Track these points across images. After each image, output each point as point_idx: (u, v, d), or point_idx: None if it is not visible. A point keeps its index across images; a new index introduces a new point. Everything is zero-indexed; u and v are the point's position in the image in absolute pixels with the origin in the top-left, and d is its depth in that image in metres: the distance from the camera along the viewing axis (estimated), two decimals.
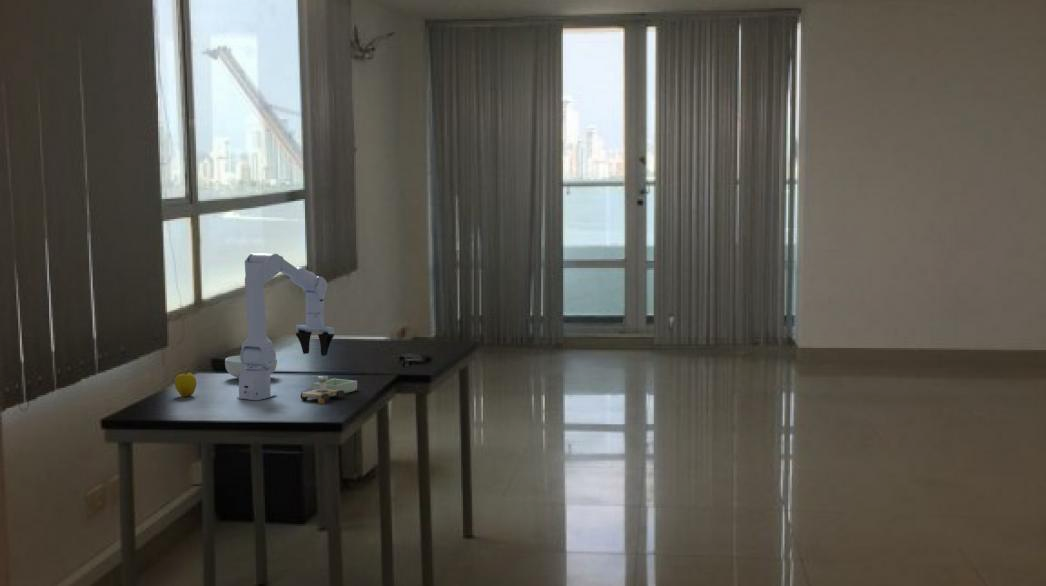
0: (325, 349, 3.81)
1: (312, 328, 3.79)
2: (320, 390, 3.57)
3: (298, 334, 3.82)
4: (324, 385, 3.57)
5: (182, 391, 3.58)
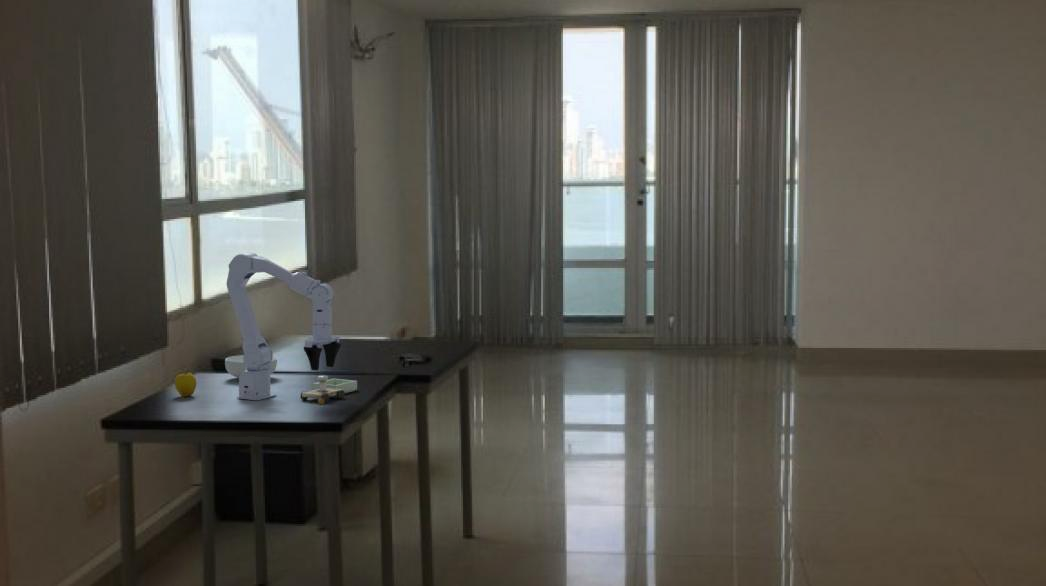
0: (313, 363, 3.53)
1: None
2: (320, 390, 3.57)
3: None
4: (324, 385, 3.57)
5: (182, 391, 3.58)
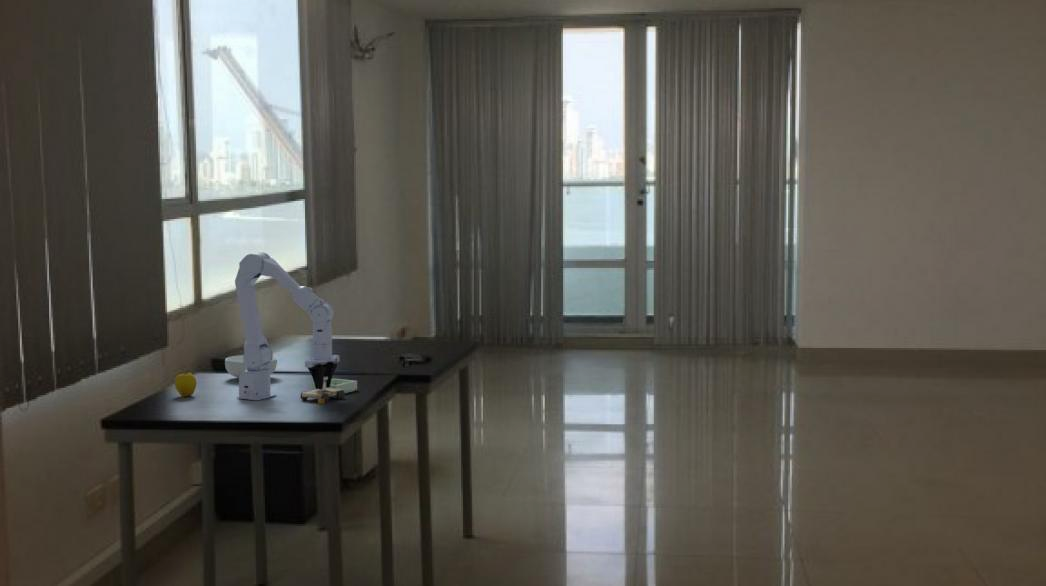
0: (318, 382, 3.55)
1: None
2: (320, 390, 3.57)
3: None
4: (324, 385, 3.57)
5: (182, 391, 3.58)
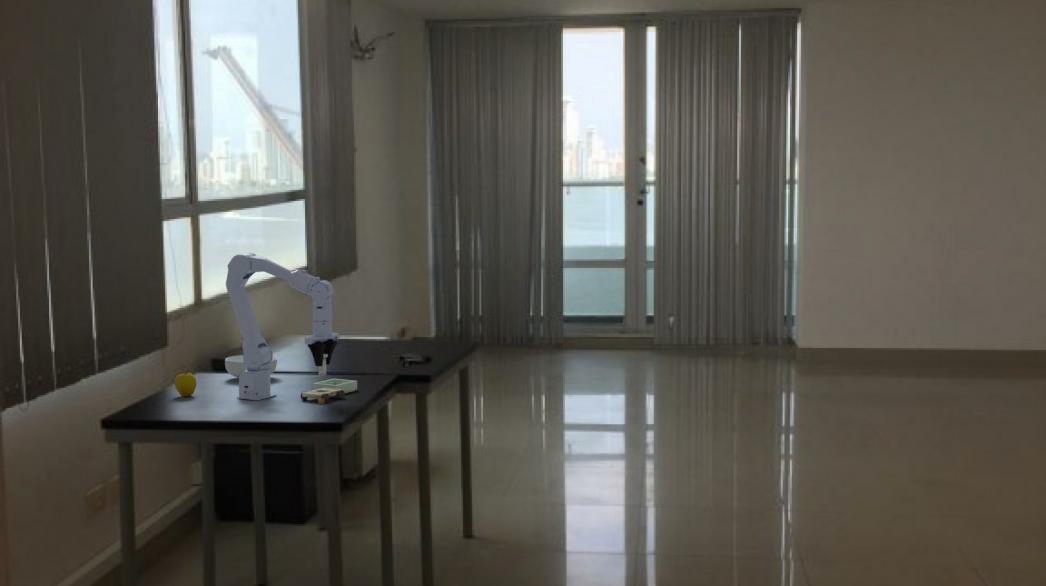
0: (317, 359, 3.55)
1: None
2: (320, 367, 3.56)
3: None
4: (324, 362, 3.56)
5: (182, 391, 3.58)
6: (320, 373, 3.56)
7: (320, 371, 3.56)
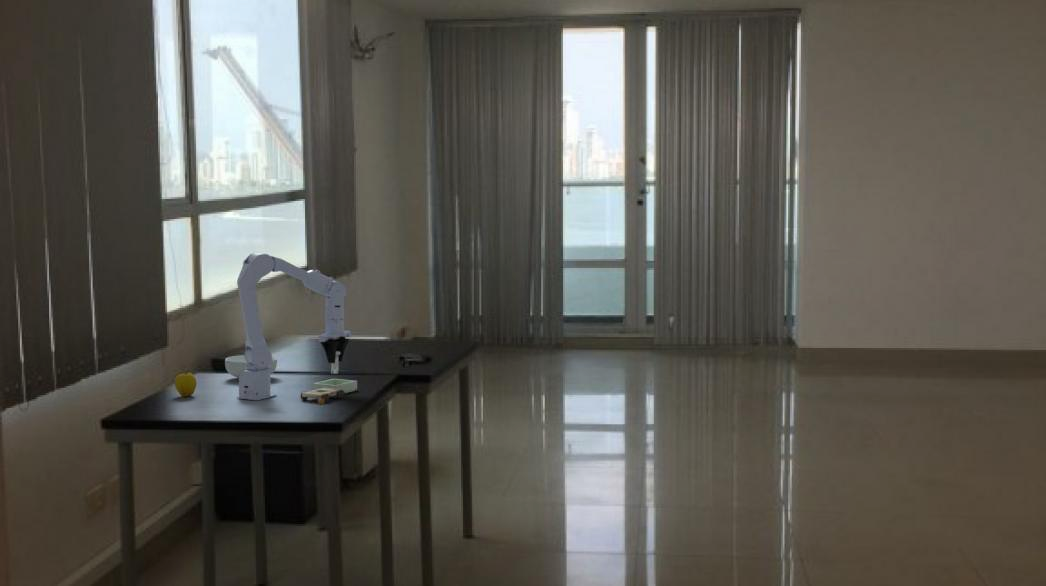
0: (330, 356, 3.68)
1: None
2: (332, 364, 3.70)
3: None
4: (336, 359, 3.70)
5: (182, 391, 3.58)
6: (332, 370, 3.70)
7: (332, 368, 3.70)
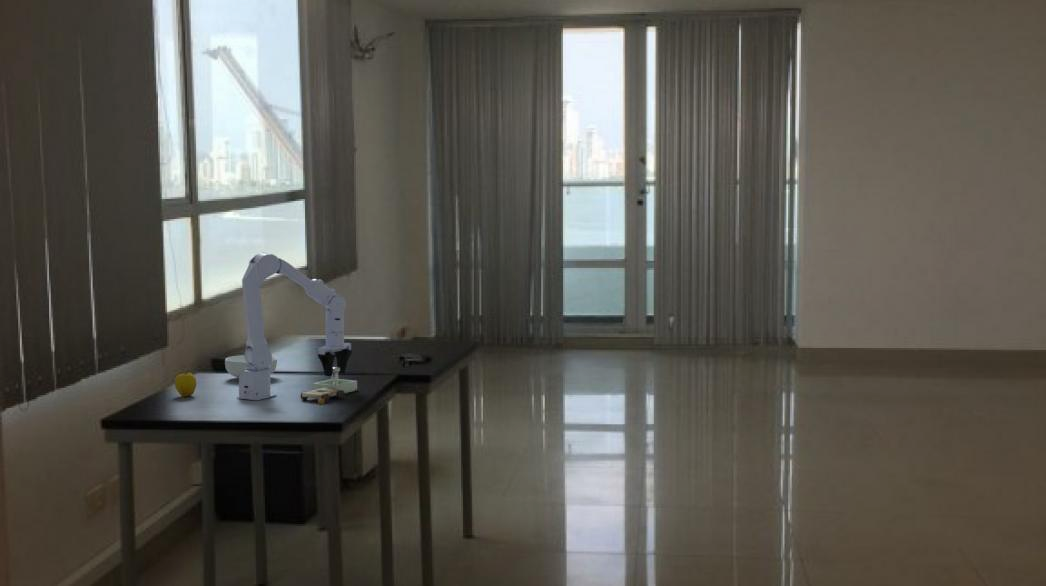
0: (327, 370, 3.67)
1: None
2: (332, 381, 3.70)
3: None
4: (336, 376, 3.70)
5: (182, 391, 3.58)
6: None
7: (332, 384, 3.70)
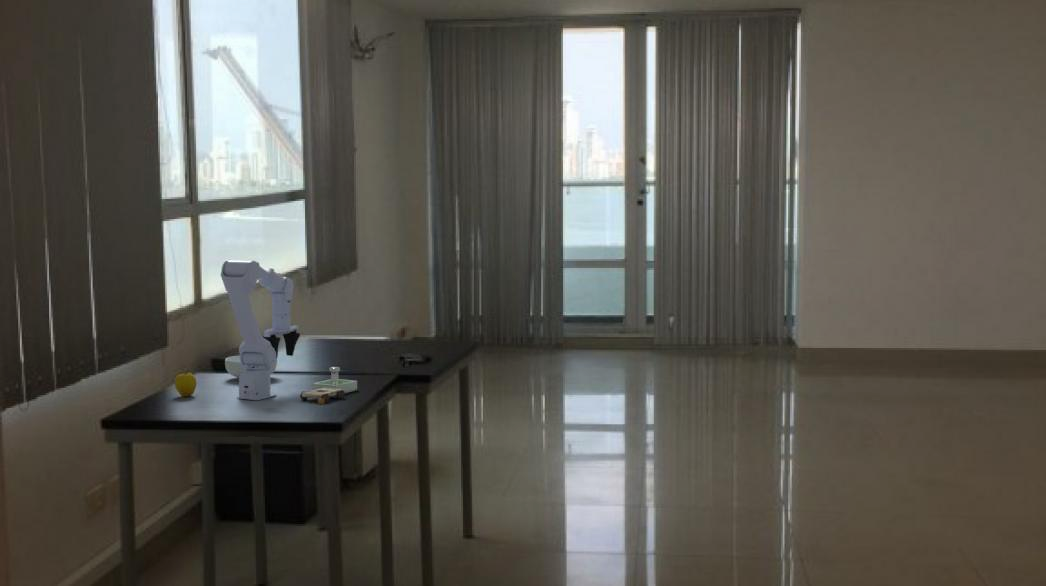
0: None
1: None
2: (332, 381, 3.70)
3: None
4: (336, 376, 3.70)
5: (182, 391, 3.58)
6: None
7: (332, 384, 3.70)
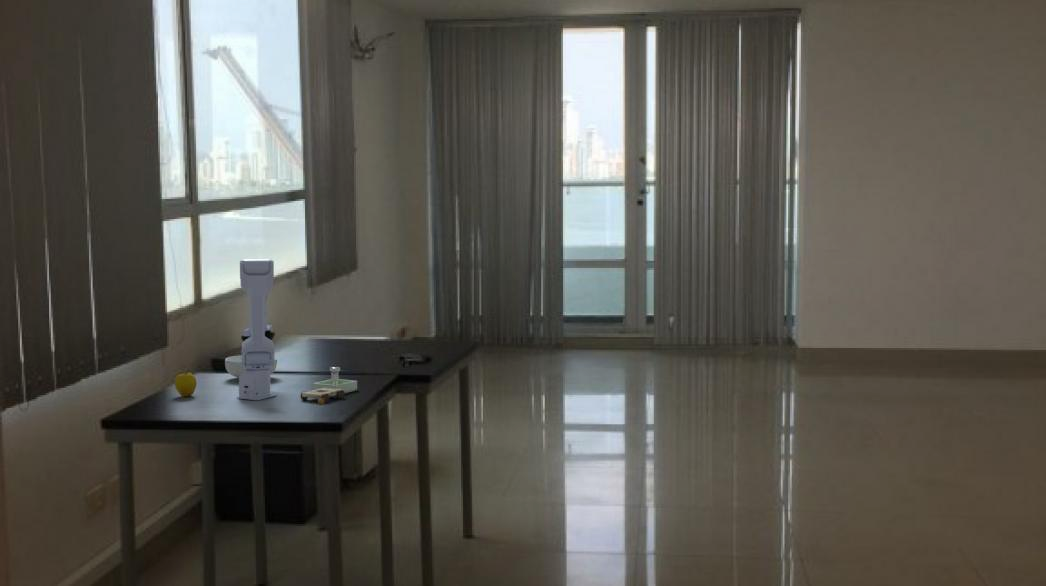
0: None
1: None
2: (332, 381, 3.70)
3: None
4: (336, 376, 3.70)
5: (182, 391, 3.58)
6: None
7: (332, 384, 3.70)
